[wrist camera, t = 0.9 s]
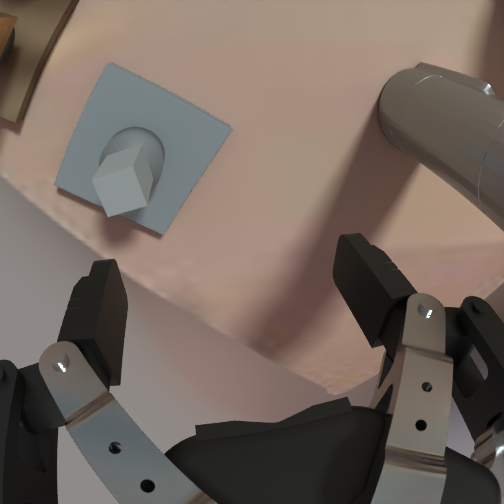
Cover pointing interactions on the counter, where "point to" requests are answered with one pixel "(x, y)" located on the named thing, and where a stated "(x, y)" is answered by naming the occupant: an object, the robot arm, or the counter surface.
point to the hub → (139, 149)
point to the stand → (28, 49)
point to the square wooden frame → (6, 28)
